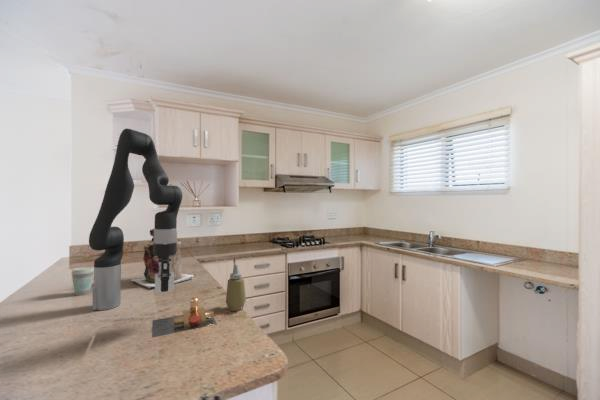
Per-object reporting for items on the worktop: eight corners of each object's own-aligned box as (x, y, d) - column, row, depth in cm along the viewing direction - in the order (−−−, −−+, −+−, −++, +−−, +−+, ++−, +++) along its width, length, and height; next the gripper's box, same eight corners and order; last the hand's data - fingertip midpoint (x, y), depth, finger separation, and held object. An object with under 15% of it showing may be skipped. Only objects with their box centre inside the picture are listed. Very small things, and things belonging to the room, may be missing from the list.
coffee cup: (71, 297, 124) (71, 271, 124) (70, 293, 130) (71, 268, 130) (94, 293, 130) (94, 268, 130) (93, 289, 136) (93, 265, 136)
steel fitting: (154, 292, 92) (155, 278, 92) (154, 287, 98) (155, 273, 98) (174, 290, 95) (174, 276, 95) (173, 285, 100) (173, 272, 100)
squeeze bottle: (249, 306, 114) (249, 263, 114) (239, 313, 106) (239, 267, 106) (232, 304, 116) (232, 262, 117) (221, 311, 109) (221, 266, 109)
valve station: (152, 340, 86) (152, 310, 86) (152, 323, 98) (152, 296, 98) (217, 326, 95) (217, 299, 95) (210, 312, 107) (210, 288, 108)
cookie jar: (172, 272, 169) (172, 221, 169) (195, 279, 154) (195, 223, 155) (129, 282, 149) (129, 223, 149) (151, 290, 134) (151, 226, 135)
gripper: (153, 239, 101) (152, 284, 101) (153, 244, 88) (151, 296, 88) (175, 238, 105) (174, 281, 104) (178, 243, 92) (177, 293, 92)
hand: (164, 288), depth 96 cm, fingers closed on steel fitting, 6 cm apart
